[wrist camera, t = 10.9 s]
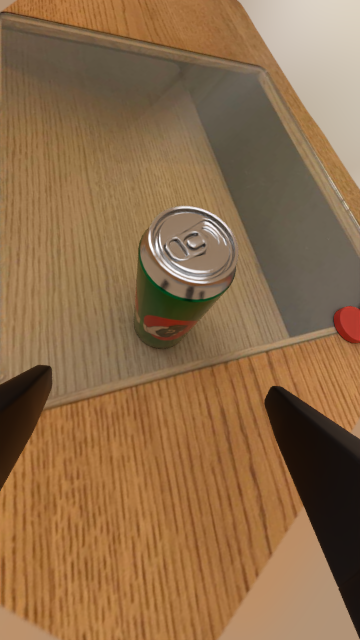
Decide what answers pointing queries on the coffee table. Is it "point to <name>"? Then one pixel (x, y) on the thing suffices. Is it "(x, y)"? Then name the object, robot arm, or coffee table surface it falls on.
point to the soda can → (181, 272)
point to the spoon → (348, 323)
